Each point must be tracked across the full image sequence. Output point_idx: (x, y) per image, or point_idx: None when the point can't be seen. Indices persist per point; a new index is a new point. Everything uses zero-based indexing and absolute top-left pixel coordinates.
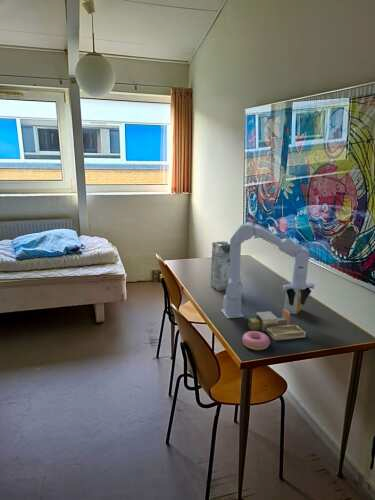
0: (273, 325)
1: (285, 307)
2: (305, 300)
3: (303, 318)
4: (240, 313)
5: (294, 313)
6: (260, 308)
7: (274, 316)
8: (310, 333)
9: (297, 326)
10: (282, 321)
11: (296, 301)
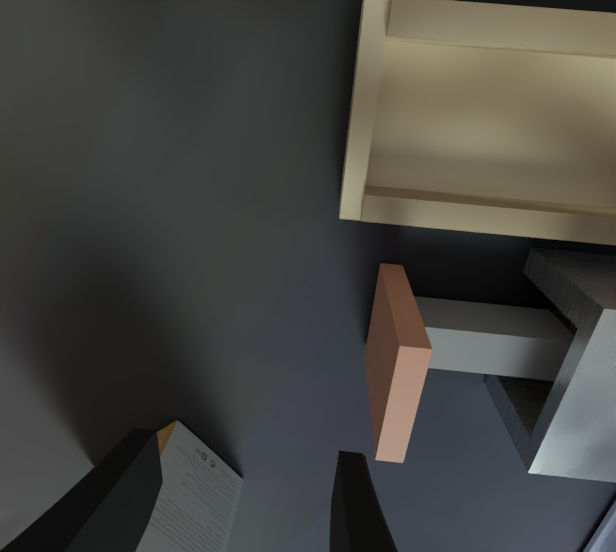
0: (609, 273)
1: (229, 506)
2: (72, 491)
3: (150, 354)
4: (606, 534)
5: (186, 431)
6: None
7: (599, 366)
8: (247, 75)
9: (353, 185)
10: (440, 320)
11: None
